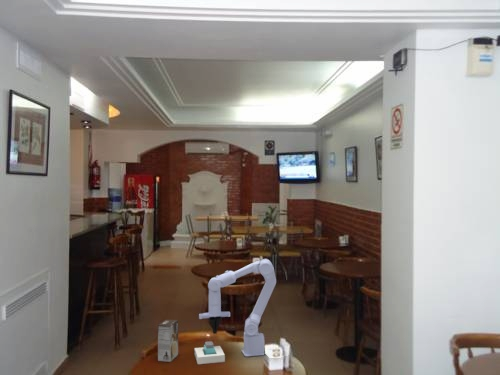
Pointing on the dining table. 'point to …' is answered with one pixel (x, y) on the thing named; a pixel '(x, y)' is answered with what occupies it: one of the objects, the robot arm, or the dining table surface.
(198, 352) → the block
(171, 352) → the coffee box
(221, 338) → the dining table surface
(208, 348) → the plug
